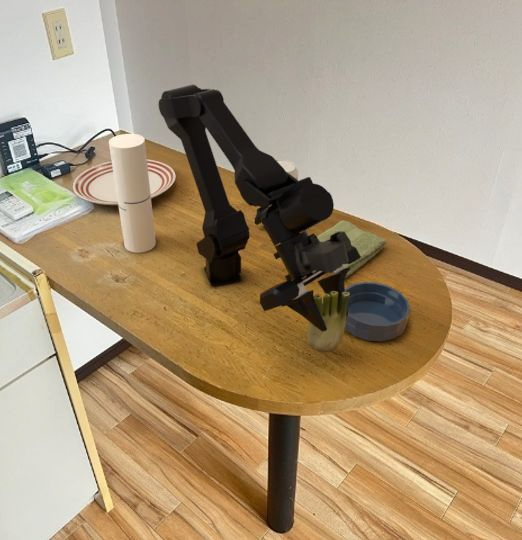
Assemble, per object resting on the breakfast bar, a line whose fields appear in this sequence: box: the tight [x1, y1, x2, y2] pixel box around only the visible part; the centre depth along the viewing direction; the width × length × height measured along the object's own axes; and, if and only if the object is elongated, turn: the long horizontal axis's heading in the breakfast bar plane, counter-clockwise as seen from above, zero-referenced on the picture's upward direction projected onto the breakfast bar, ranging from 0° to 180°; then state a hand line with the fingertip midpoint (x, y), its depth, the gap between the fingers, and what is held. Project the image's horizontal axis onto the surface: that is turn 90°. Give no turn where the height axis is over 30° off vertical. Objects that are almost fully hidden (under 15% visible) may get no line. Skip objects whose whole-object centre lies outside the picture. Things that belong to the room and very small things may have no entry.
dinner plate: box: [72, 159, 177, 206], centre depth 139 cm, size 28×27×3 cm
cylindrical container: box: [108, 133, 157, 254], centre depth 111 cm, size 7×7×25 cm
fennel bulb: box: [306, 291, 350, 354], centre depth 84 cm, size 6×5×12 cm
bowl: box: [345, 281, 411, 342], centre depth 95 cm, size 12×12×4 cm
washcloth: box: [316, 219, 387, 279], centre depth 112 cm, size 13×18×3 cm
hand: (335, 323), depth 83 cm, fingers closed on fennel bulb, 5 cm apart
